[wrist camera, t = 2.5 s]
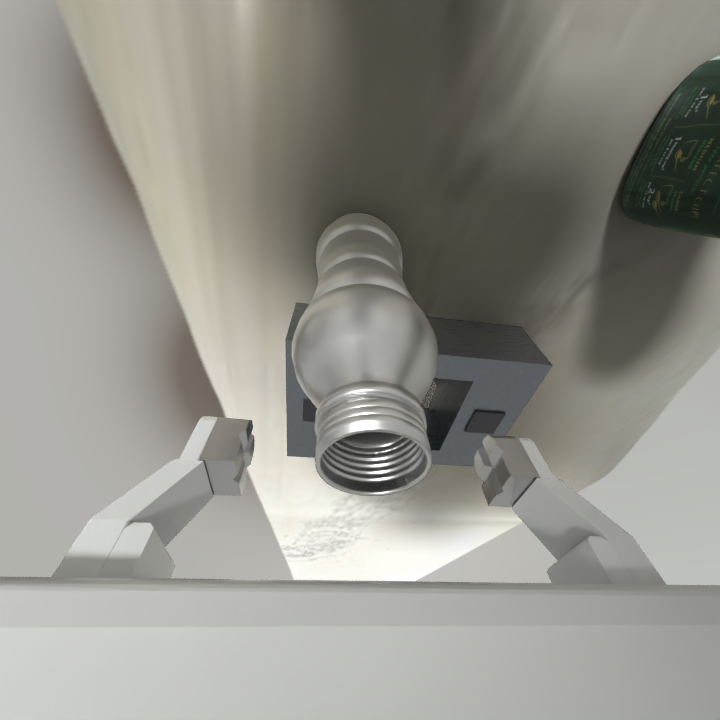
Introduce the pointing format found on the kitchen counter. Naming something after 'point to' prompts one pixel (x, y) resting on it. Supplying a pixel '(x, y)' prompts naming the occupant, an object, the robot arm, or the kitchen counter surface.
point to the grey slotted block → (448, 388)
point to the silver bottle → (366, 362)
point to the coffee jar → (681, 160)
